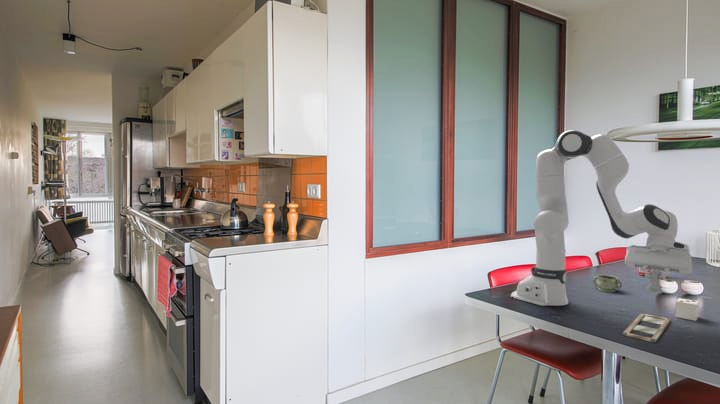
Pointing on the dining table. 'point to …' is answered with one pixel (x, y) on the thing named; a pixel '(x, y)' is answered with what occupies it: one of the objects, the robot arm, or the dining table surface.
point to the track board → (650, 319)
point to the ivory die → (687, 309)
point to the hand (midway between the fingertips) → (654, 278)
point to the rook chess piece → (654, 281)
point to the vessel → (607, 283)
